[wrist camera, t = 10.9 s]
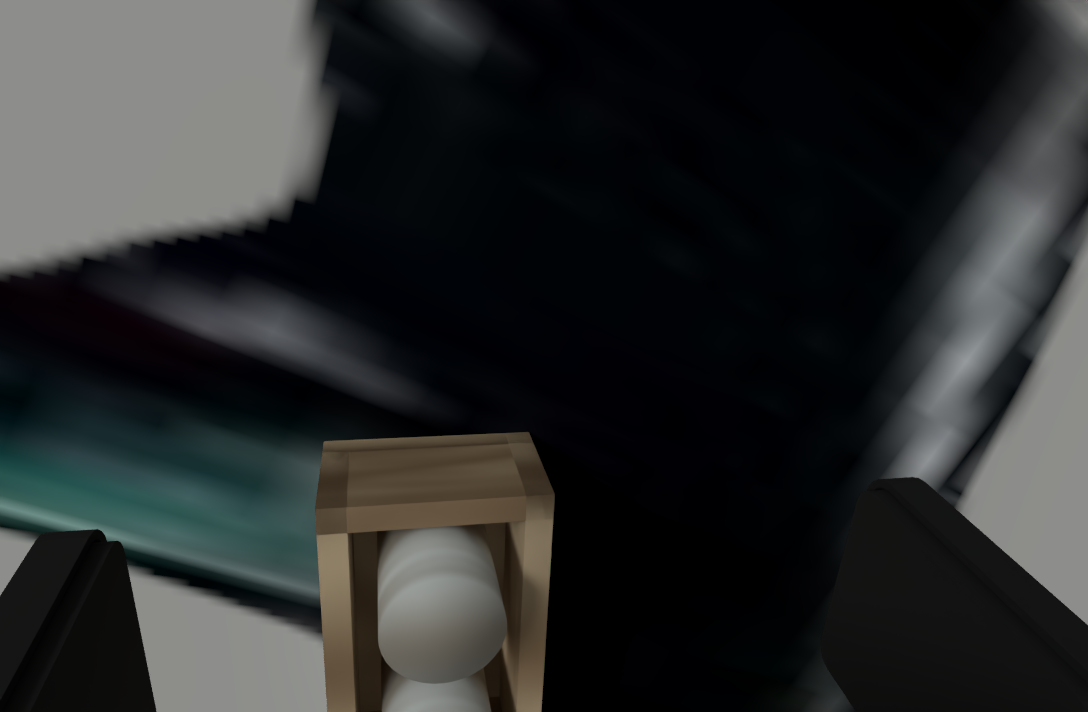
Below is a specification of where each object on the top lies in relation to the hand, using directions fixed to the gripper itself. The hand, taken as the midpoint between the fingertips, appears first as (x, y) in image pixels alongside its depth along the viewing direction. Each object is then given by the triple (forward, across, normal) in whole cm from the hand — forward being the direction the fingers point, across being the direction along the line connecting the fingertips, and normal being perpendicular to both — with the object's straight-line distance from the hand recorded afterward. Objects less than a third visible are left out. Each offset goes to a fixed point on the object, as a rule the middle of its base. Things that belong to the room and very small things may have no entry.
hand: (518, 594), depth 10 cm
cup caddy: (+14, 0, +11) cm, 18 cm away
